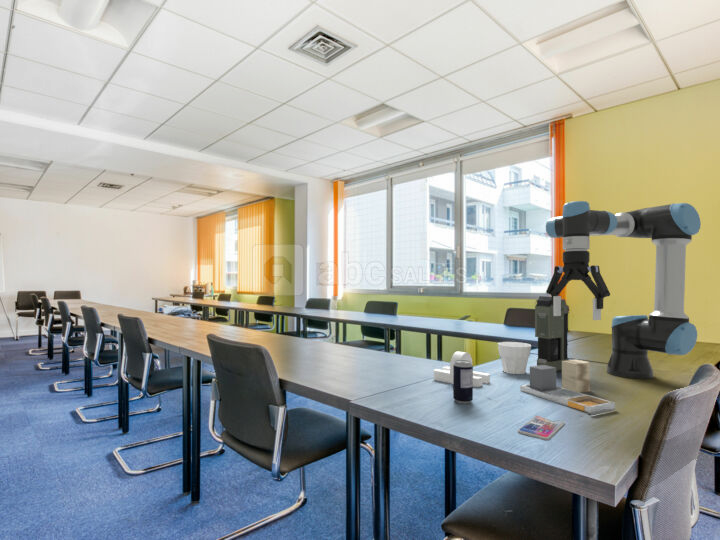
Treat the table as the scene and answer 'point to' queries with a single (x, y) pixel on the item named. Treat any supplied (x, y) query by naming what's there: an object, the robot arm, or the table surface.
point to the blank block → (543, 377)
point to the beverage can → (463, 381)
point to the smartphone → (541, 428)
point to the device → (551, 333)
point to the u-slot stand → (447, 372)
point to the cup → (514, 356)
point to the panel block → (576, 375)
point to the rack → (573, 399)
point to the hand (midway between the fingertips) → (576, 317)
